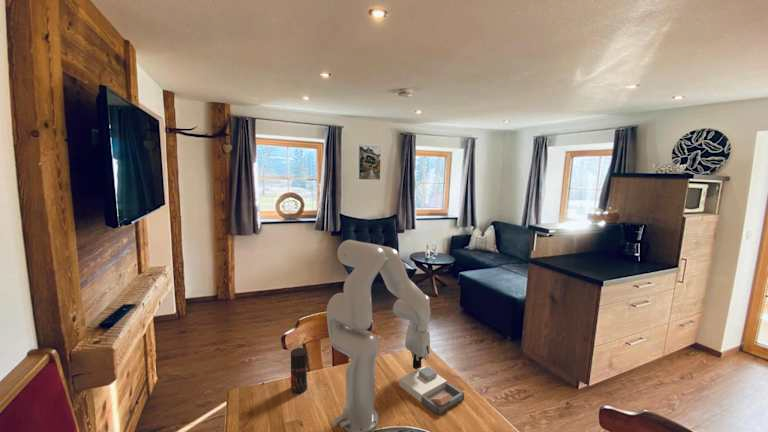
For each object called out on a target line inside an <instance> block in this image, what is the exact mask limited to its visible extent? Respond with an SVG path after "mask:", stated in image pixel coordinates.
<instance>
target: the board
mask: <svg viewBox="0 0 768 432" xmlns="http://www.w3.org/2000/svg"><path fill="white" fill-rule="evenodd" d="M425 367H426V365H425V366H423V367H422V366H421V367H420V368H418V369H415V371H412V372H410V373H408V374H406V375H404V376H401V377H400V378H399V379H398V380H399V381H398V386H399V387H400V388H402V389H403V390H404V391H406V392H407V393H408V394H409V395H411V396H412V397H413V398H415V399H416V400H417V401H419V402H420V403H422V396H425V397H427V398H429V397H430V396H432V395H434V394H436V393H437V392H439V391H441V390H443V389H444V388H446V383H447V382H448V381H447V380H446V379H445V378H443V377H442V376H440V374H437V377H436V378H434V379H432V380H430V381H426V380H425V379H423V378H422V377H420V376H419V370H421V369H423V368H425Z"/></svg>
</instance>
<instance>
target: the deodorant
mask: <svg viewBox="0 0 768 432" xmlns="http://www.w3.org/2000/svg"><path fill="white" fill-rule="evenodd" d="M290 390H291V391H290V392H291V393H292V394H294V395H300V394H304V393H305V392H306V391H307V390H308V350H307V349H306V348H305V347H295V348H293V349H292V350H291V351H290Z"/></svg>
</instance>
